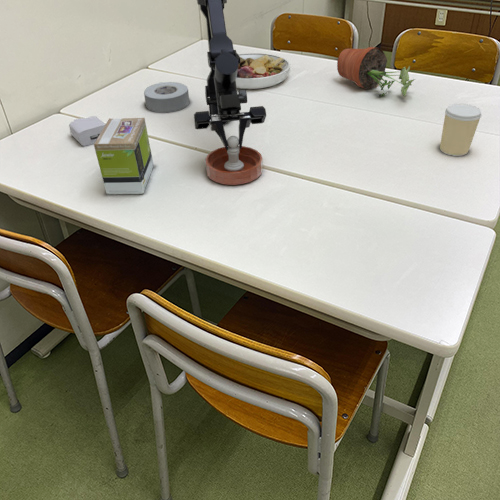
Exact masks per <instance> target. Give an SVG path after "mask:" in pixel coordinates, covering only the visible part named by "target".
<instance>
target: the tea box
mask: <svg viewBox="0 0 500 500" xmlns="http://www.w3.org/2000/svg"><path fill="white" fill-rule="evenodd" d="M93 147H94V151H95V154H96V158H97V163H98V167H99V170H100V174H101V178H102V182H103V186H104V189H105V193H106V195H142V194H143V195H144V193H145V191H146V187H147V184H148V182H149V179H150V176H151V174H152V171H153V169H154V165H155V164H154V159H153V155H152V150H151V143H150V139H149V134H148V129H147V124H146V119H145V117H128V118H127V117H124V118H122V117H121V118H108V119H107V121H106V123H105V126H104V128H103V130H102V131H101V133H100V135H99V136H98V138H97V140H96V142H95V143H94V144H93Z"/></svg>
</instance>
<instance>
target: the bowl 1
mask: <svg viewBox="0 0 500 500" xmlns="http://www.w3.org/2000/svg"><path fill="white" fill-rule="evenodd" d="M238 147H239V145H238ZM239 151H240V152H239V160H240V161H242V162H243V164H244V167H243V168H242V169H241V170H239V171H228V170H226V169H225V167H224V165H225V163H226V162H227V161H229V154H228V153H227V150H226V148H225V146H223V147H219V148H216V149H214V150H212V151H211V152H209V153H208V154H207V155H206V157H205V171H206V176H207V177H208V178H209V179H210V180H211V181H213V182H215V183H218V184H222V185H228V186H237V185H244V184H248V183H251V182H254V181H255V180H257V179H258V178H259V177H260V176H261V175H262V174H263V156H262V153H261V152H259V151H258V150H257V149H254V148H252V147H249V146H245V145H242V148H241V149H240V147H239Z"/></svg>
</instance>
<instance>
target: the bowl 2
mask: <svg viewBox="0 0 500 500" xmlns="http://www.w3.org/2000/svg"><path fill="white" fill-rule="evenodd" d="M237 54H238V55H239V57H240V63H239V65H238V72H237V78H236V86H237V89H239V90H256V89H257V90H258V89H265V88H270V87H273V86H276V85H279V84H280V83H282V82H283V81H285V80H286V79H287V77H289V74H290V71H291V63H290V61H289V60H288V59H286V58H284V57H282V56H279V55H276V54H270V53H261V52H248V53H237Z"/></svg>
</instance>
